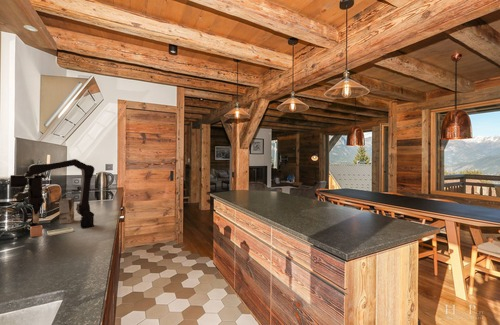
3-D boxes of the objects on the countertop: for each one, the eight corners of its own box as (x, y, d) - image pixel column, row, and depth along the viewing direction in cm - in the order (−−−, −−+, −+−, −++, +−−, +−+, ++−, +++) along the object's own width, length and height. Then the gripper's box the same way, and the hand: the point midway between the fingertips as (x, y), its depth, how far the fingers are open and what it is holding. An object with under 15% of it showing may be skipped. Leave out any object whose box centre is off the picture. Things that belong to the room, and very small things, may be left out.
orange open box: (42, 233, 138) (41, 225, 138) (42, 235, 135) (42, 227, 135) (30, 235, 135) (30, 226, 135) (30, 237, 131) (30, 228, 131)
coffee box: (71, 223, 160) (70, 199, 160) (59, 224, 158) (58, 200, 157) (74, 220, 169) (74, 197, 168) (63, 221, 166) (62, 198, 166)
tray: (72, 229, 147) (72, 227, 147) (74, 232, 141) (74, 230, 141) (46, 233, 139) (46, 231, 139) (47, 237, 133) (47, 234, 133)
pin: (38, 221, 136) (38, 206, 136) (38, 222, 135) (38, 206, 134) (33, 222, 135) (32, 206, 134) (33, 223, 133) (32, 207, 133)
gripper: (15, 186, 135) (16, 213, 136) (15, 189, 122) (15, 219, 122) (41, 184, 143) (42, 210, 143) (43, 187, 130) (44, 215, 130)
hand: (35, 213), depth 135 cm, fingers closed on pin, 2 cm apart
